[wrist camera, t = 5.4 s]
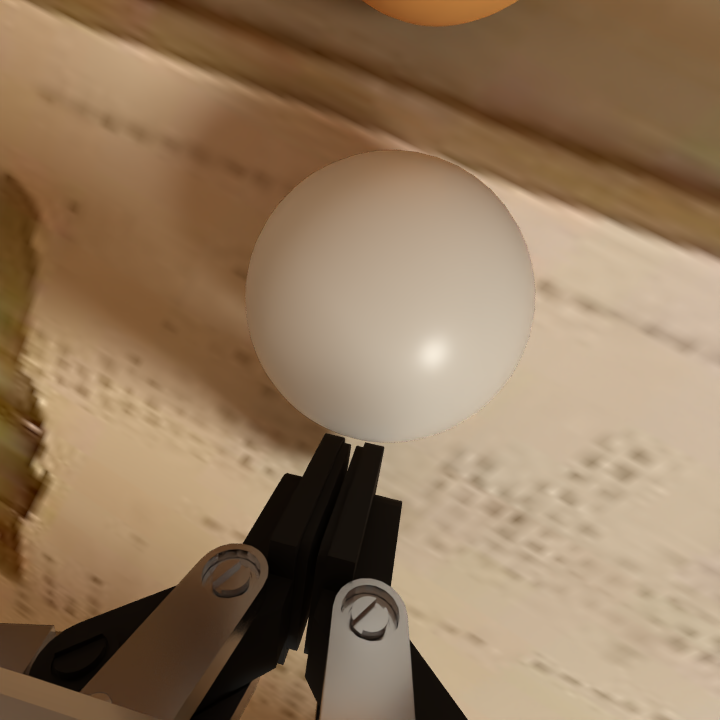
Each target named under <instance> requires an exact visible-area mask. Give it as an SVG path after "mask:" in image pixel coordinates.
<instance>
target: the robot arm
mask: <svg viewBox="0 0 720 720" xmlns="http://www.w3.org/2000/svg"><path fill="white" fill-rule="evenodd" d="M350 450H351V444H347V443H345V438H344V437H340V436H335V435H331V434H327V433H326V434H325V435H324V437H323V439H322V441H321V443H320V444H319V446H318V448H317V450H316V452H315V454H314V456H313V458H312V460H311V462H310V463H309V465H308V467H307V469H306V471H305V473H304V475H303V477H301V476H297V475H293V474H289V473H286V474H285V475H284V476H283V477H282V479H281V481H280V482H279V484H278V486H277V487H276V489H275V491H274V492H273V494H272V496H271V497H270V499H269V501H268V502H267V504H266V506H265V507H264V509H263V511H262V512H261V514H260V516H259V517H258V519H257V521H256V522H255V524H254V526H253V527H252V529H251V531H250V532H249V534H248V536H247V537H246V539H245V541H244V542H243V544H227V545H223V546H220V547H218V548H216V549H214V550H212V551H210V552H209V553H207V554H206V555H205V556H204V557H203V558H202V559H201V560H200V561H199V562H198V563H197V564H196V565H195V566H194V567H193V568H192V569H191V571H190V572H189V573H188V574H187V575H186V576H185V577H184V578H183V579H182V580H181V582H180V583H179V584H178V585H177V586H174V587H171V588H169V589H166V590H164V591H161V592H158V593H156V594H153V595H151V596H148V597H145V598H143V599H140V600H138V601H135V602H132V603H130V604H127V605H124V606H122V607H119V608H117V609H114V610H111V611H109V612H106V613H104V614H101V615H98V616H96V617H93V618H91V619H88V620H85V621H83V622H80V623H78V624H76V625H74V626H72V627H70V628H68V629H66V630H64V631H63V632H56V631H55V628H54V625H33V624H9V623H0V720H239V719H240V717H241V715H242V713H243V711H244V710H245V708H246V706H247V704H248V702H249V700H250V699H251V697H252V695H253V693H254V691H255V689H256V687H257V684H258V681H259V678H260V676H262V675H264V674H265V673H267V672H269V671H271V670H272V669H274V668H276V665H277V663H278V664H282V665H283V664H284V662H285V659H286V656H287V653H288V650H289V649H292V650H296V651H297V650H298V647H299V645H300V642H301V639H302V636H303V632H304V629H305V626H306V623H307V620H308V626H307V634H306V641H305V648H304V653H305V654H308V659H307V666H306V673H305V678H306V680H307V682H308V684H309V686H310V688H311V690H312V693H313V695H314V697H315V699H316V701H317V705H316V712H315V720H468V719H467V718H466V717H465V715H464V714H463V712H462V711H461V710H460V708H459V707H458V705H457V704H456V703H455V701H454V700H453V699H452V697H451V696H450V694H449V693H448V692H447V690H446V689H445V688H444V686H443V685H442V683H441V682H440V681H439V679H438V678H437V677H436V675H435V674H434V672H433V671H432V670H431V668H430V667H429V666H428V664H427V663H426V661H425V660H424V659H423V657H422V656H421V655H420V653H419V652H418V650H417V649H416V648H415V646H414V645H413V644H412V642H411V641H410V639H409V627H408V615H407V611H406V607H405V604H404V602H403V601H402V599H401V597H400V595H399V594H398V593H397V592H396V591H395V590H394V589H393V588H392V587H391V580H392V573H393V566H394V559H395V551H396V544H397V537H398V530H399V522H400V515H401V508H402V501H399V500H394V499H390V498H386V497H382V496H378V495H375V493H376V488H377V483H378V478H379V473H380V467H381V462H382V457H383V452H384V447H383V446H379V445H375V444H370V443H366V442H365V444H364V447H360V446H356V449H355V451H354V454H353V457H352V460H351V462H350V465H349V468H348V463H349V456H350ZM347 469H348V471H347ZM308 617H309V619H308Z"/></svg>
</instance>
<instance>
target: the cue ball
mask: <svg viewBox="0 0 720 720" xmlns="http://www.w3.org/2000/svg"><path fill="white" fill-rule="evenodd" d="M245 304H246V315H247V324H248V329H249V333H250V336H251V340H252V343H253V346H254V349H255V351H256V354H257V356H258V359H259V361H260V363H261V365H262V367H263V369H264V370H265V372H266V374H267V375H268V377H269V378H270V380H271V381H272V383H273V384H274V385H275V387H276V388H277V389H278V390H279V392H280V393H281V394H282V395H283V396H284V397H285V399H286V400H287V401H288V402H289V403H291V404H292V405H293V406H294V407H295V408H296V409H297V410H298V411H300V412H301V413H302V414H304V415H305V416H306V417H308V418H309V419H311V420H312V421H314V422H316V423H317V424H319V425H321V426H323V427H325V428H327V429H329V430H331V431H334V432H336V433H339V434H341V435H345V436H348V437H351V438H355V439H360V440H365V441H372V442H383V443H396V442H407V441H413V440H418V439H422V438H426V437H429V436H433V435H436V434H440V433H442V432H444V431H447V430H449V429H451V428H453V427H455V426H457V425H459V424H460V423H462V422H464V421H465V420H467V419H469V418H470V417H472V416H473V415H474V414H476V413H477V412H478V411H480V410H481V409H482V408H484V407H485V406H486V405H487V404H488V403H489V402H490V401H491V400H492V399H493V398H494V397H495V396H496V395H497V394H498V392H499V391H500V390H501V389H502V388H503V386H504V385H505V384H506V382H507V381H508V380H509V378H510V377H511V376H512V374H513V372H514V370H515V368H516V367H517V365H518V363H519V361H520V359H521V357H522V355H523V353H524V350H525V347H526V345H527V342H528V339H529V337H530V332H531V327H532V322H533V317H534V311H535V282H534V273H533V267H532V262H531V258H530V254H529V251H528V247H527V244H526V242H525V240H524V238H523V235H522V233H521V231H520V229H519V227H518V225H517V223H516V222H515V220H514V219H513V217H512V216H511V214H510V212H509V211H508V209H507V208H506V206H505V205H504V204H503V203H502V201H501V200H500V199H499V198H498V197H497V196H496V195H495V194H494V192H493V191H492V190H491V189H490V188H488V187H487V186H486V185H485V184H484V183H482V182H481V181H480V180H479V179H478V178H476V177H475V176H473V175H472V174H470V173H468V172H467V171H465V170H464V169H462V168H460V167H459V166H457V165H454V164H452V163H450V162H447V161H445V160H443V159H440V158H438V157H434V156H430V155H426V154H423V153H419V152H411V151H402V150H381V151H372V152H366V153H361V154H356V155H353V156H350V157H347V158H344V159H341V160H339V161H336V162H333V163H331V164H329V165H327V166H325V167H323V168H322V169H320V170H318V171H316V172H314V173H313V174H311V175H310V176H309V177H307V178H306V179H304V180H303V181H302V182H300V183H299V184H298V185H297V186H296V187H295V188H294V189H293V190H292V191H291V192H290V193H289V194H288V195H287V196H286V197H285V198H284V199H283V200H282V201H281V202H280V203H279V204H278V206H277V207H276V208H275V210H274V211H273V212H272V214H271V215H270V217H269V218H268V220H267V222H266V224H265V225H264V227H263V229H262V231H261V233H260V235H259V237H258V239H257V241H256V243H255V246H254V249H253V252H252V255H251V259H250V263H249V268H248V274H247V280H246V291H245Z"/></svg>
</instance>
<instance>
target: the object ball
mask: <svg viewBox="0 0 720 720" xmlns="http://www.w3.org/2000/svg"><path fill="white" fill-rule="evenodd" d="M362 1H364V2H365V3H367V4H368V5H369V6H371V7H373V8H374V9H376V10H377V11H379V12H381V13H383V14H385V15H387V16H390V17H393V18H395V19H398V20H401V21H404V22H407V23H411V24H416V25H422V26H451V25H458V24H463V23H467V22H471V21H475V20H478V19H481V18H484V17H487V16H490V15H492V14H494V13H497V12H499V11H500V10H502V9H504V8H506V7H508V6H509V5H511V4H513V3H515V2H517V1H518V0H362Z"/></svg>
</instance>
